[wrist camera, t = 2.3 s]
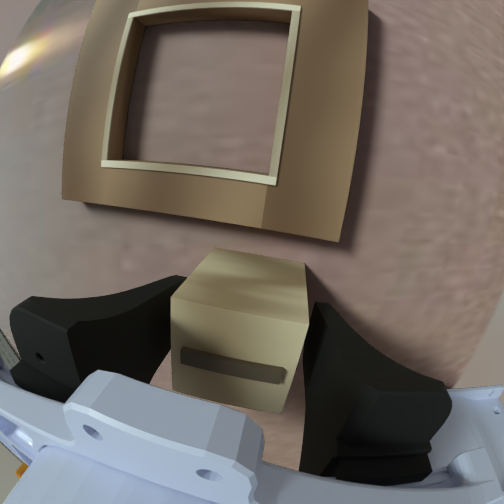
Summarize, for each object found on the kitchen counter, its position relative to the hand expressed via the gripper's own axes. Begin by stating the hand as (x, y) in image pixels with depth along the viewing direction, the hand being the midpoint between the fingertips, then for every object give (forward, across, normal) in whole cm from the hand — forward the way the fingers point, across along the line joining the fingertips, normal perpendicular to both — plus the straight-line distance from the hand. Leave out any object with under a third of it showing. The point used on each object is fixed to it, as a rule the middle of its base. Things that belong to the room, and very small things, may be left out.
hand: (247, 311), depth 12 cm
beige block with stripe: (+2, 0, 0) cm, 2 cm away
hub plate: (+1, +4, -9) cm, 10 cm away
